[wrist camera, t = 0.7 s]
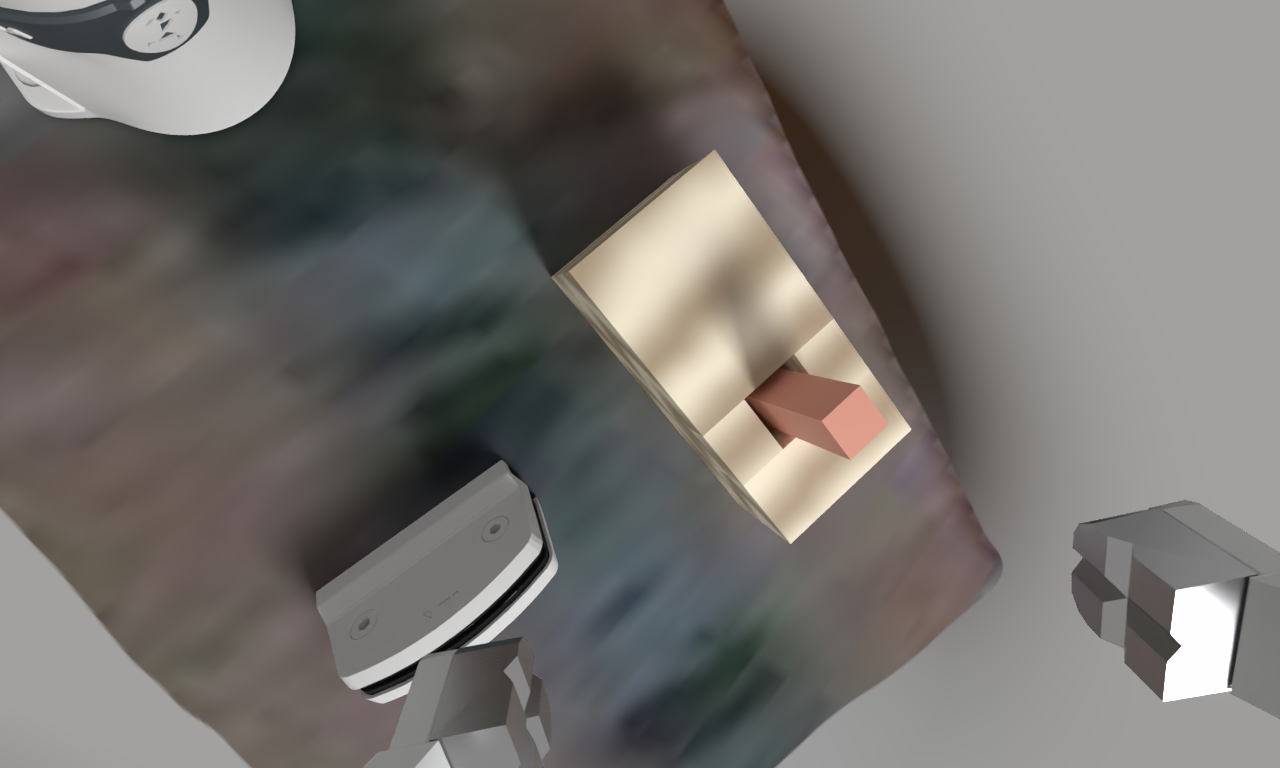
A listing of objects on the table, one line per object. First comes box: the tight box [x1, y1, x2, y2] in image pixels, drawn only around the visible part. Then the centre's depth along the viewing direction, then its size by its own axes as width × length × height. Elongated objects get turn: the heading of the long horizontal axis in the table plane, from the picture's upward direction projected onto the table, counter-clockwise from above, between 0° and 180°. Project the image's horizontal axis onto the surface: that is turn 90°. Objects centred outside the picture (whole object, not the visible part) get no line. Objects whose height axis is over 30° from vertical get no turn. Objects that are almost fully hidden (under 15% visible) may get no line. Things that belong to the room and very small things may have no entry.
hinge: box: [316, 460, 558, 703], centre depth 45 cm, size 17×5×10 cm, turn 124°
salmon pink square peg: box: [744, 368, 888, 460], centre depth 43 cm, size 3×3×14 cm
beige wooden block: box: [551, 150, 911, 544], centre depth 48 cm, size 24×12×9 cm, turn 39°
